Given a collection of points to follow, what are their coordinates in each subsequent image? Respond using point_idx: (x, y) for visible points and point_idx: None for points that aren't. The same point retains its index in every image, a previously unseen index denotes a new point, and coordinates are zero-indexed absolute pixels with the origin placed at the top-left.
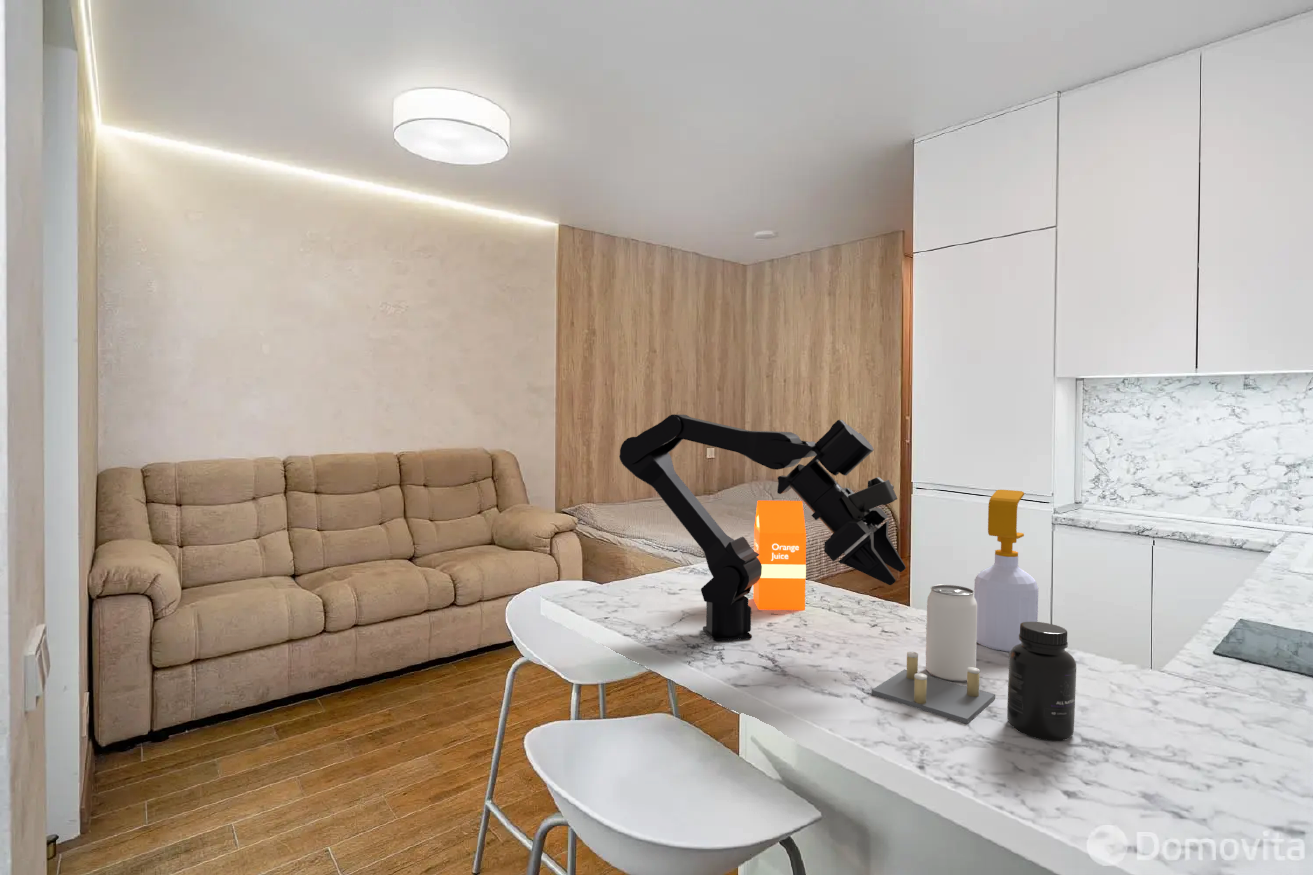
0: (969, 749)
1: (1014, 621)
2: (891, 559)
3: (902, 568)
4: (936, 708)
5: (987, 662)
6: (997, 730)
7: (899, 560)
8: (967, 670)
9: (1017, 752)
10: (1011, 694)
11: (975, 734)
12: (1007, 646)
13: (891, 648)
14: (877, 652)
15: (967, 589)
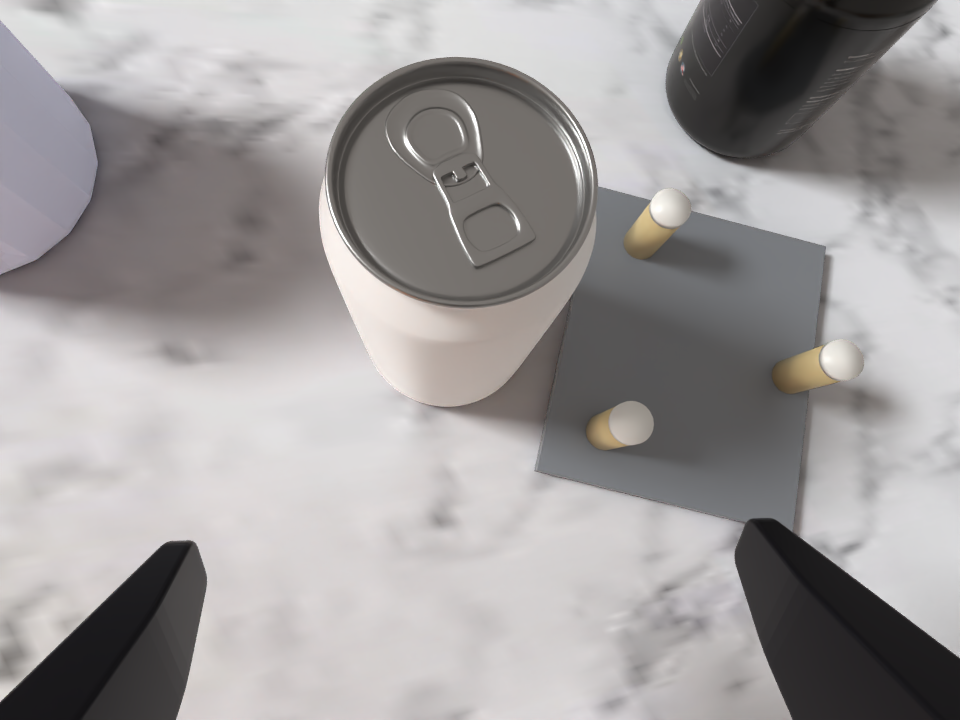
0: (953, 238)
1: (20, 60)
2: (146, 715)
3: (195, 569)
4: (810, 327)
5: (256, 223)
6: (806, 184)
7: (158, 617)
8: (677, 227)
9: (896, 144)
10: (833, 100)
11: (864, 230)
12: (89, 151)
13: (262, 574)
14: (346, 617)
15: (372, 98)
